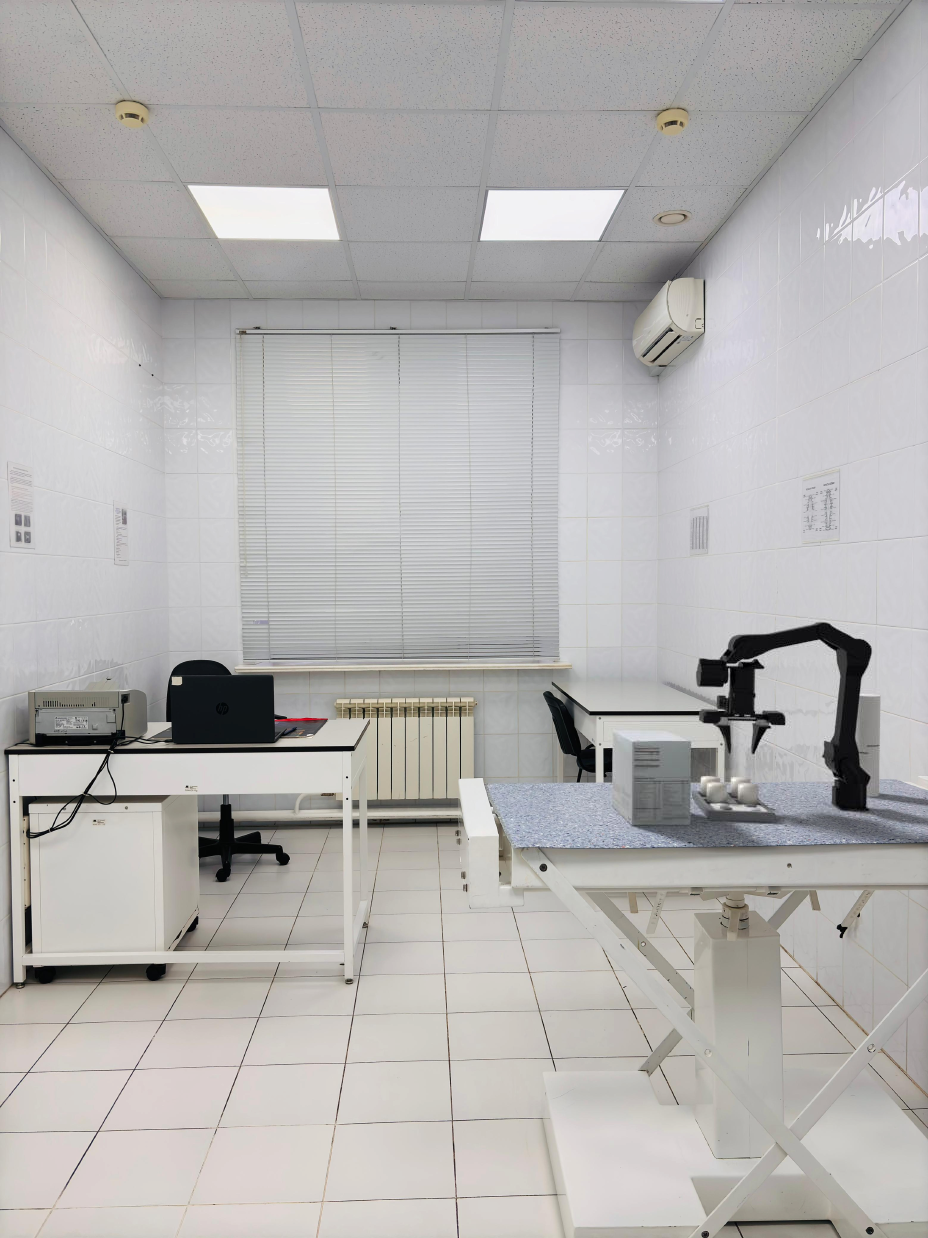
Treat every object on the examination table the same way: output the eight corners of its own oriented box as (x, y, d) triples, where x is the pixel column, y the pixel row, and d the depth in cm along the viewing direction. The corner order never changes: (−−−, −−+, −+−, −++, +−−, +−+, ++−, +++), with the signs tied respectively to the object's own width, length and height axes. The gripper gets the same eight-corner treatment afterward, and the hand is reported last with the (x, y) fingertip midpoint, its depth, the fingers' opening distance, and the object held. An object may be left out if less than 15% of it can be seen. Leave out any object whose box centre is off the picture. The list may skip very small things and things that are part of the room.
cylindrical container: (884, 797, 201) (886, 696, 200) (855, 796, 201) (857, 696, 200) (870, 790, 208) (871, 693, 208) (842, 790, 208) (843, 693, 208)
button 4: (755, 800, 187) (755, 783, 187) (760, 805, 182) (760, 787, 182) (735, 800, 187) (736, 783, 187) (740, 804, 183) (740, 787, 183)
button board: (751, 800, 195) (751, 790, 195) (775, 822, 175) (775, 811, 175) (691, 798, 197) (692, 789, 197) (708, 820, 177) (709, 809, 177)
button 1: (717, 793, 194) (717, 776, 194) (721, 797, 190) (721, 780, 190) (698, 792, 195) (699, 776, 195) (702, 796, 190) (702, 779, 190)
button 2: (724, 799, 187) (724, 782, 187) (728, 804, 183) (728, 786, 183) (704, 799, 188) (705, 782, 188) (708, 803, 183) (708, 786, 183)
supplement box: (692, 826, 172) (693, 741, 171) (630, 826, 171) (631, 741, 171) (666, 806, 189) (667, 729, 189) (610, 807, 188) (611, 729, 188)
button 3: (747, 794, 194) (747, 777, 193) (752, 798, 189) (752, 781, 189) (728, 793, 194) (729, 776, 194) (733, 797, 190) (733, 780, 190)
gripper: (772, 685, 198) (771, 749, 199) (695, 684, 200) (694, 746, 200) (786, 690, 187) (785, 757, 187) (704, 688, 189) (703, 754, 189)
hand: (741, 753), depth 191 cm, fingers open, 5 cm apart
